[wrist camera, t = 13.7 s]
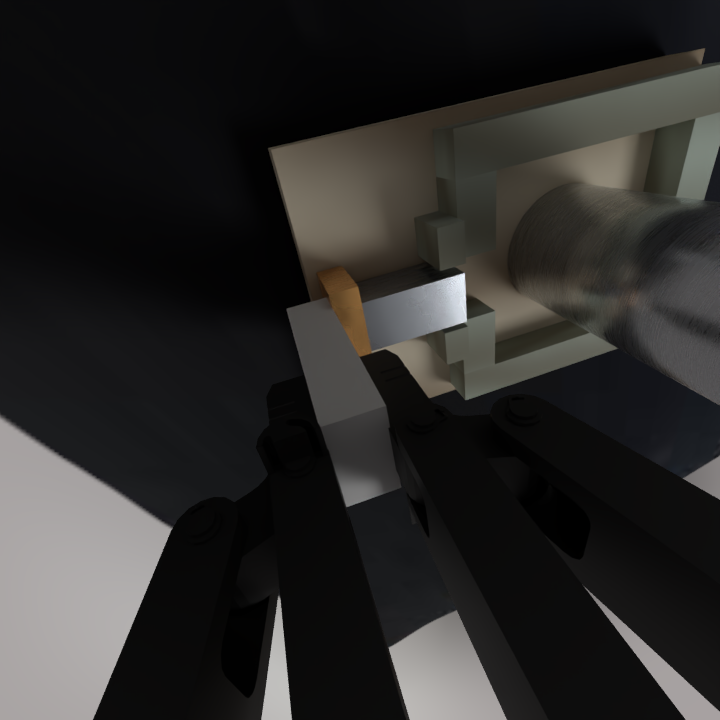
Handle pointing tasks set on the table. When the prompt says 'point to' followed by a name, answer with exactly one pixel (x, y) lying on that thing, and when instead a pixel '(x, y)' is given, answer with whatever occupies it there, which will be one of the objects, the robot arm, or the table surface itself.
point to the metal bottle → (629, 274)
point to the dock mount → (494, 200)
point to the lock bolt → (395, 304)
